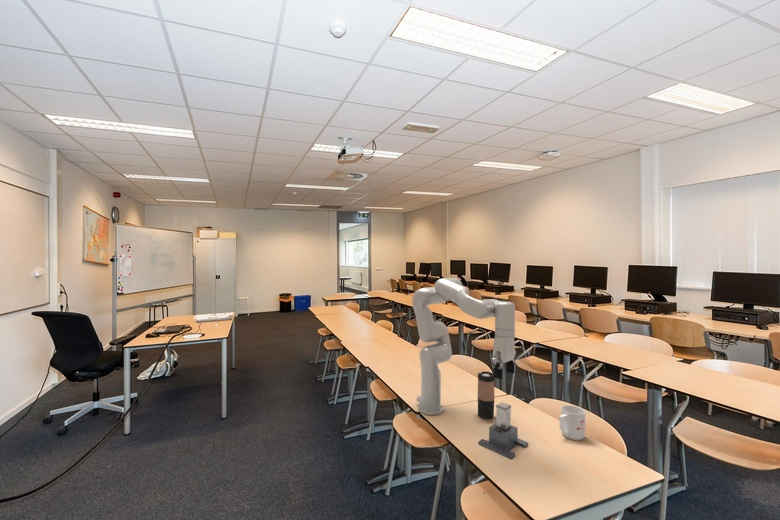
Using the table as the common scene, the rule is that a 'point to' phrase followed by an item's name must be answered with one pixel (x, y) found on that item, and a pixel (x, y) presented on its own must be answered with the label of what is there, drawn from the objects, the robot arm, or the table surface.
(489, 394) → the travel mug
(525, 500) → the table surface
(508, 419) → the column
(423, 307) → the robot arm
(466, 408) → the table surface
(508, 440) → the stand
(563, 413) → the mug
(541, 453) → the table surface
